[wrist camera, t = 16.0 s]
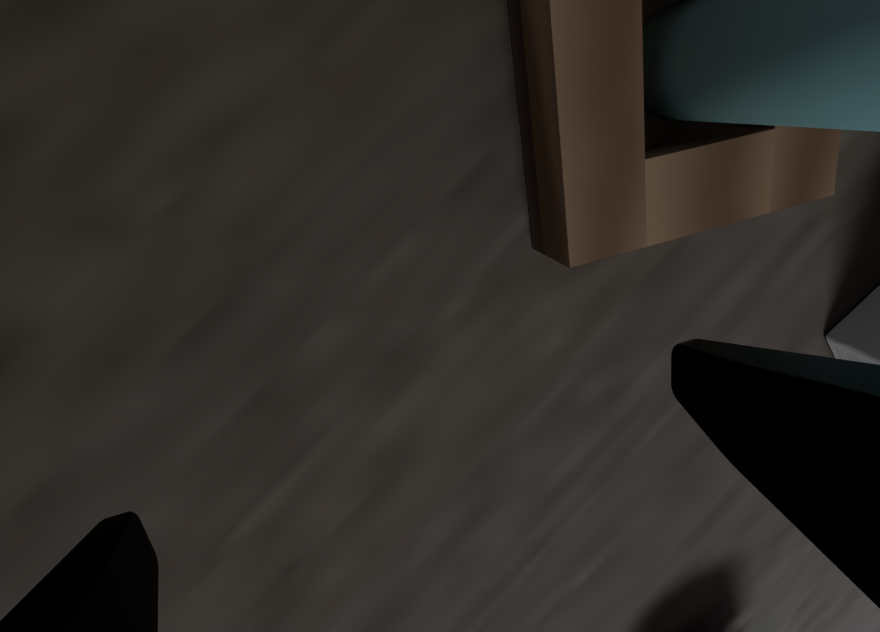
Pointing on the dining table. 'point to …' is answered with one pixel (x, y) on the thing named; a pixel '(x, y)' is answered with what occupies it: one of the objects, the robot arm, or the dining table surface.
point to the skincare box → (859, 332)
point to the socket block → (636, 141)
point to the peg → (765, 62)
